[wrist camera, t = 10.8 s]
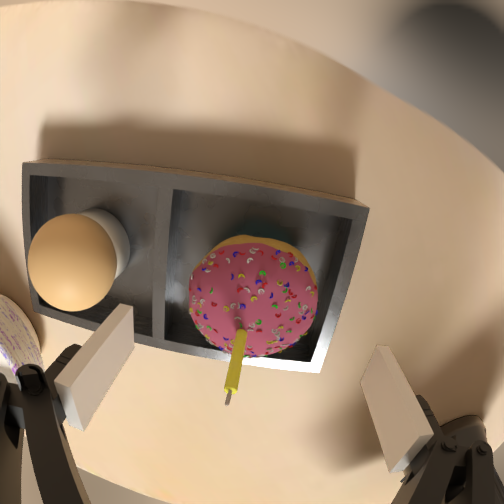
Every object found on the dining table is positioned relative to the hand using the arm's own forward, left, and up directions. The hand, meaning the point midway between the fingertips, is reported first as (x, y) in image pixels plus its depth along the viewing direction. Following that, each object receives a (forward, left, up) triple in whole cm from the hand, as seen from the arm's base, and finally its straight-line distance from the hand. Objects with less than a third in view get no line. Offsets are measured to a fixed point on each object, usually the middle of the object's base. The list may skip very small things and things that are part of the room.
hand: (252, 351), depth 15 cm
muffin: (+14, 0, -9) cm, 17 cm away
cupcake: (0, 0, -10) cm, 10 cm away
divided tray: (+7, 0, -10) cm, 12 cm away
